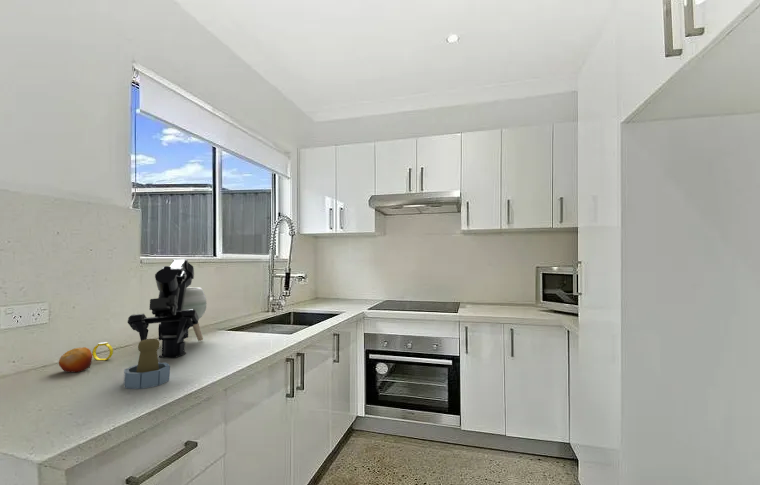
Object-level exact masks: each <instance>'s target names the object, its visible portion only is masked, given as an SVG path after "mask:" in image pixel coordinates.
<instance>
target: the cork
mask: <svg viewBox="0 0 760 485" xmlns="http://www.w3.org/2000/svg"><path fill="white" fill-rule="evenodd" d="M159 347H160V340H159V339H156V338H147V339H145V340H142V341H141V340H140V341H139V343H138V346H137V349H138V352H139V357H138V361H137V365H138V366H137V371H136V373H144V372H150V371H156V370H159V365H158V363H159V355H158V350H159Z"/></svg>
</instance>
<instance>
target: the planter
mask: <svg viewBox="0 0 760 485" xmlns="http://www.w3.org/2000/svg"><path fill="white" fill-rule="evenodd" d="M187 309H195V310H196V312H197V315H198V318H199V319H198V321H199V320H200V319H201V318H202V317H203V316H204V314H205V312H206V310H207V297H206V294H205V292H204V289H203V288H202V287H195V286H193V287H191V286H190V287H187V288H186V292H185V298H184V304H183V310H187ZM192 329H193V331H194V334H195V336H196V339H197V341H198V342H202V341H203V339H204V337H203V333H202V330H201V325H200V323H199V322H198V324H193V327H192Z"/></svg>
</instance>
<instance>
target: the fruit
mask: <svg viewBox="0 0 760 485" xmlns="http://www.w3.org/2000/svg"><path fill="white" fill-rule="evenodd" d="M92 360H93V355H92V351H91V350H90V348H87V347H86V346H85V347H84V346H83V347H76V348H72V349H70V350H67V351H66V352H65V353H63V354H62V355H61V356H60V358H59V360H58V365H59V367H60V368H61V369H62V370H63V371H64V372H66V373H81V372H84V371H86V370H88V369H91V364H92Z"/></svg>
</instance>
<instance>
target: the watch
mask: <svg viewBox="0 0 760 485" xmlns="http://www.w3.org/2000/svg"><path fill="white" fill-rule="evenodd" d="M101 346H102V347H104V346H105V347H107V348H108V350H109V354H108V356H107V357H106V358H99V357H98V356H97V349H98V348H99V347H101ZM91 353H92V359H94V360H96V361H107V360H109V359H111V358H112V356H113V354H114V348H113V347H112V345H111V344H109V342H108V341H104V342H103V341H101V342H98V343H97V344H96V345H95V346H94V347H93V349H92V351H91Z"/></svg>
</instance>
